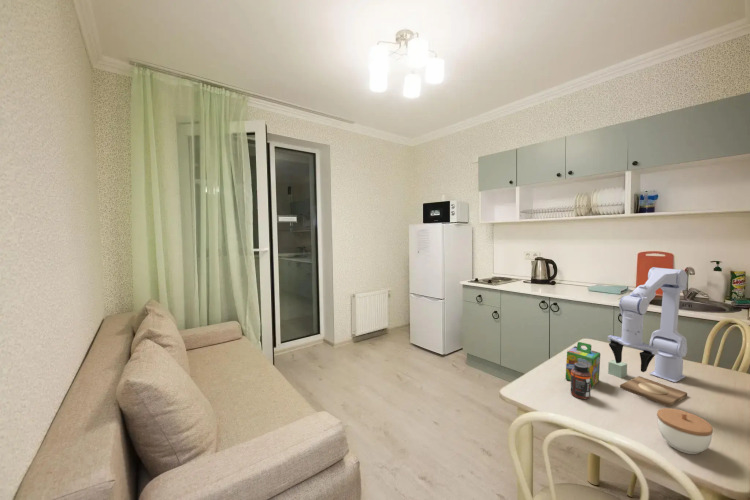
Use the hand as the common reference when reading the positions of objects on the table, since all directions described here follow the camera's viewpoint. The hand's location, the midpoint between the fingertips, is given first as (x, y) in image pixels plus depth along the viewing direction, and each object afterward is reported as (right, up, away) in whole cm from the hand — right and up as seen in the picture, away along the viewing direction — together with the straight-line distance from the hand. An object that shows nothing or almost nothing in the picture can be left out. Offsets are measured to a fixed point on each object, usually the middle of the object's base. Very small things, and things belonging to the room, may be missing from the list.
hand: (630, 366), depth 110 cm
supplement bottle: (-18, -11, 0) cm, 21 cm away
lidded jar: (-7, -12, -26) cm, 29 cm away
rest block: (+7, -9, +15) cm, 19 cm away
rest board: (+9, -10, +2) cm, 14 cm away
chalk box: (-10, -10, +11) cm, 18 cm away
